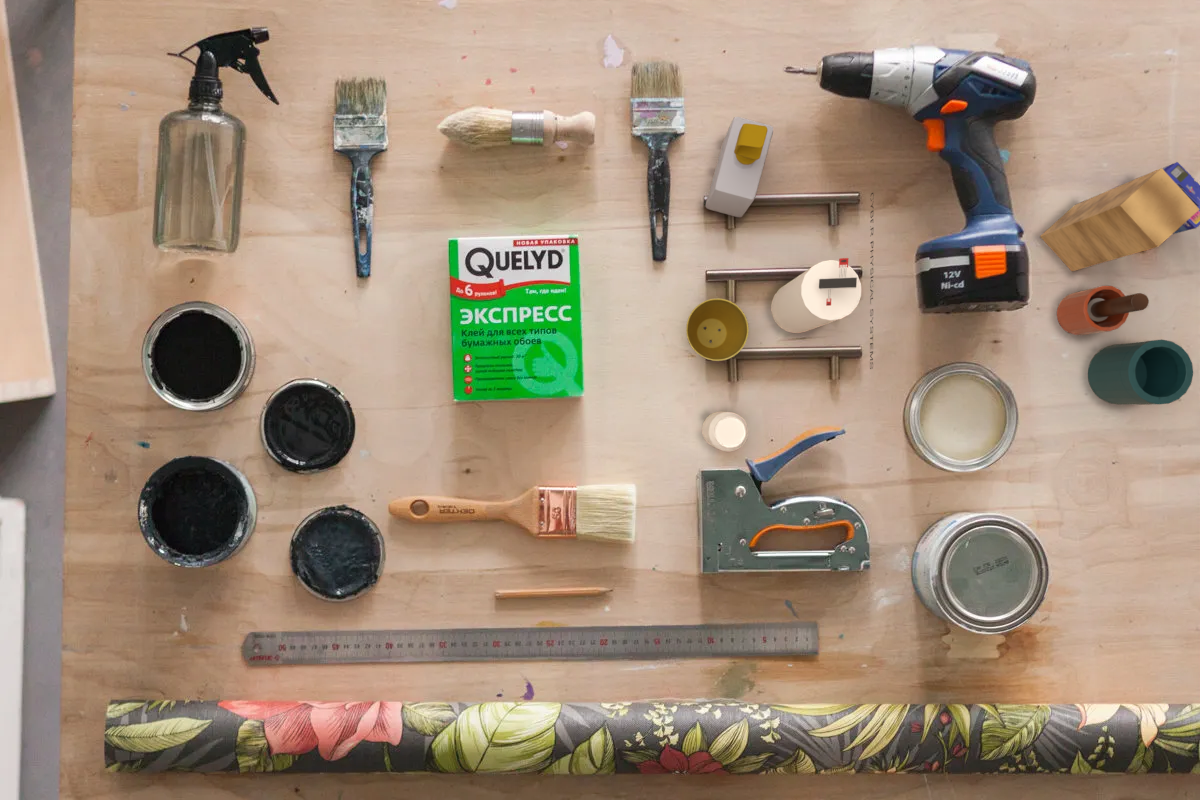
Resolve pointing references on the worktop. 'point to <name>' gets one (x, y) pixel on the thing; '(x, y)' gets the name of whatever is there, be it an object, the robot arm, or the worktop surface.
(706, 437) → the cream round cylinder
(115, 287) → the worktop surface
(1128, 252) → the riser
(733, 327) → the flower pot
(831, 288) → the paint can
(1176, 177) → the ink cartridge box
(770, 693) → the worktop surface
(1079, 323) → the brush pot
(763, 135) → the soap bottle
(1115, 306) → the brush
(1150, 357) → the jar
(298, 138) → the worktop surface
